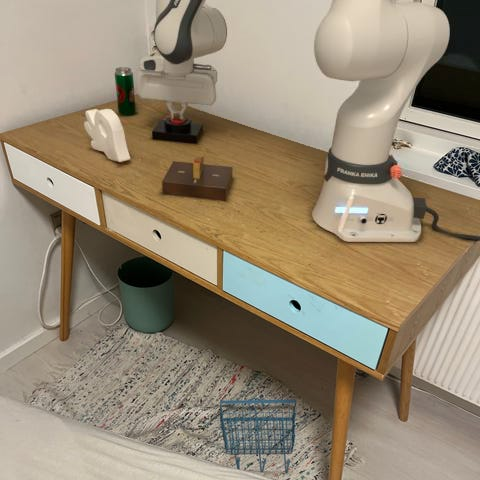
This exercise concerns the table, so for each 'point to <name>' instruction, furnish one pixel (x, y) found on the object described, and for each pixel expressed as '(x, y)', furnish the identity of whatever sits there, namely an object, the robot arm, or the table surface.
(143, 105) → the table surface
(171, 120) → the lock button
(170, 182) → the lock plate
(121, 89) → the soda can
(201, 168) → the lock turn
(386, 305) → the table surface
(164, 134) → the button base
